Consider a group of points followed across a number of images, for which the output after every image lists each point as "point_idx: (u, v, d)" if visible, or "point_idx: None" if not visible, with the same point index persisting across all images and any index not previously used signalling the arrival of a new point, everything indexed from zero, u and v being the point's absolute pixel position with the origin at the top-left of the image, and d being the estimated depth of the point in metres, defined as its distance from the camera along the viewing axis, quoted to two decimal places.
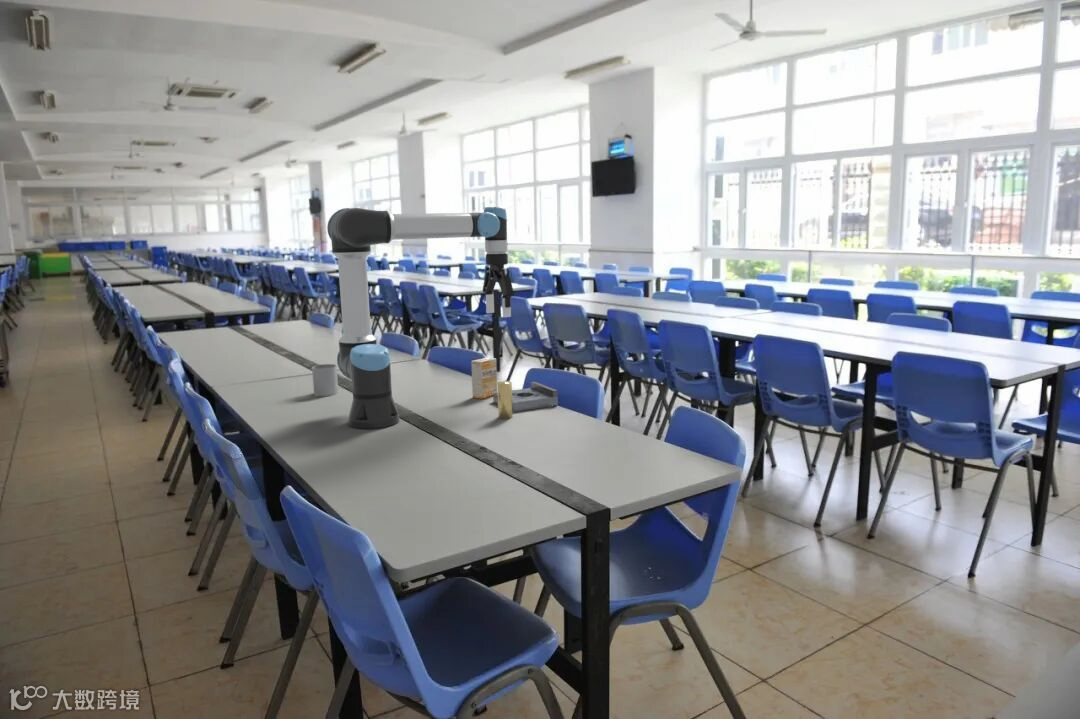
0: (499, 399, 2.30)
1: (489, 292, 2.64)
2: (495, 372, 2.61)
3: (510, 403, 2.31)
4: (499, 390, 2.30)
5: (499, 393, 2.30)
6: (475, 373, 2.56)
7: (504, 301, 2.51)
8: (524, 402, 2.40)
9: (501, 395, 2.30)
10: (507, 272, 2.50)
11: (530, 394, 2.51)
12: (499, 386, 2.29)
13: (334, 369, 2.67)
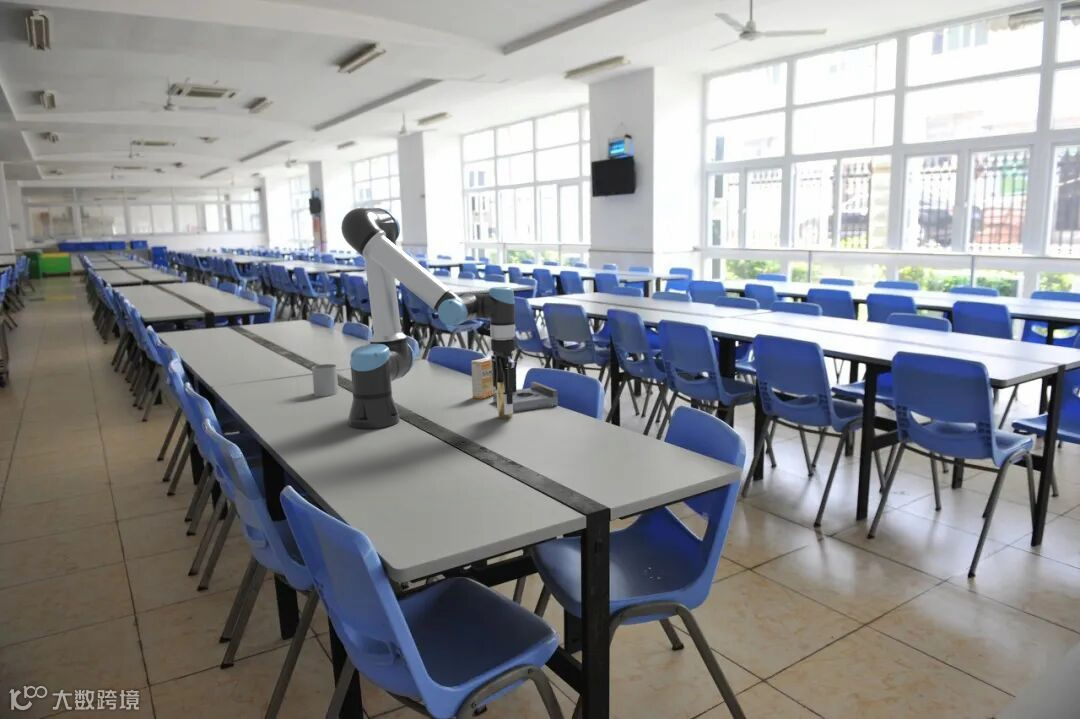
0: (499, 399, 2.30)
1: None
2: None
3: None
4: (498, 390, 2.30)
5: (499, 393, 2.30)
6: (475, 373, 2.56)
7: (506, 397, 2.29)
8: (524, 402, 2.40)
9: (500, 395, 2.30)
10: (514, 366, 2.25)
11: (530, 394, 2.51)
12: (499, 386, 2.29)
13: (334, 369, 2.67)
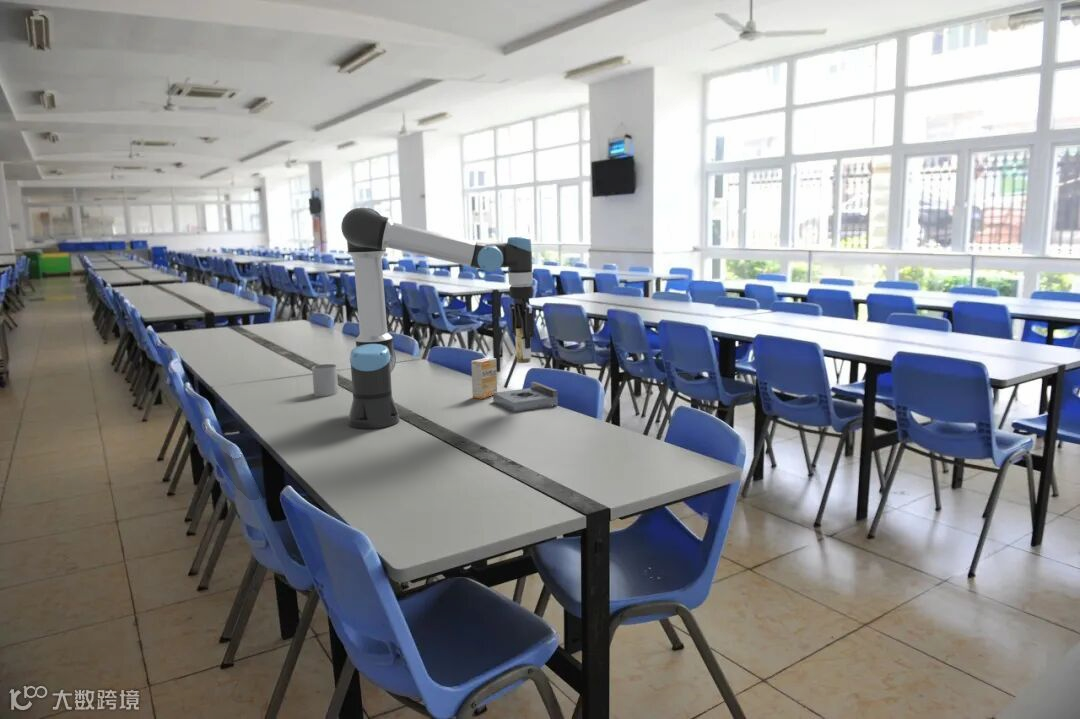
0: (518, 344, 2.42)
1: None
2: (495, 372, 2.61)
3: None
4: (517, 335, 2.42)
5: (517, 338, 2.42)
6: (475, 373, 2.56)
7: (524, 342, 2.40)
8: (524, 402, 2.40)
9: (519, 340, 2.41)
10: (531, 311, 2.36)
11: (530, 394, 2.51)
12: (517, 331, 2.41)
13: (334, 369, 2.67)
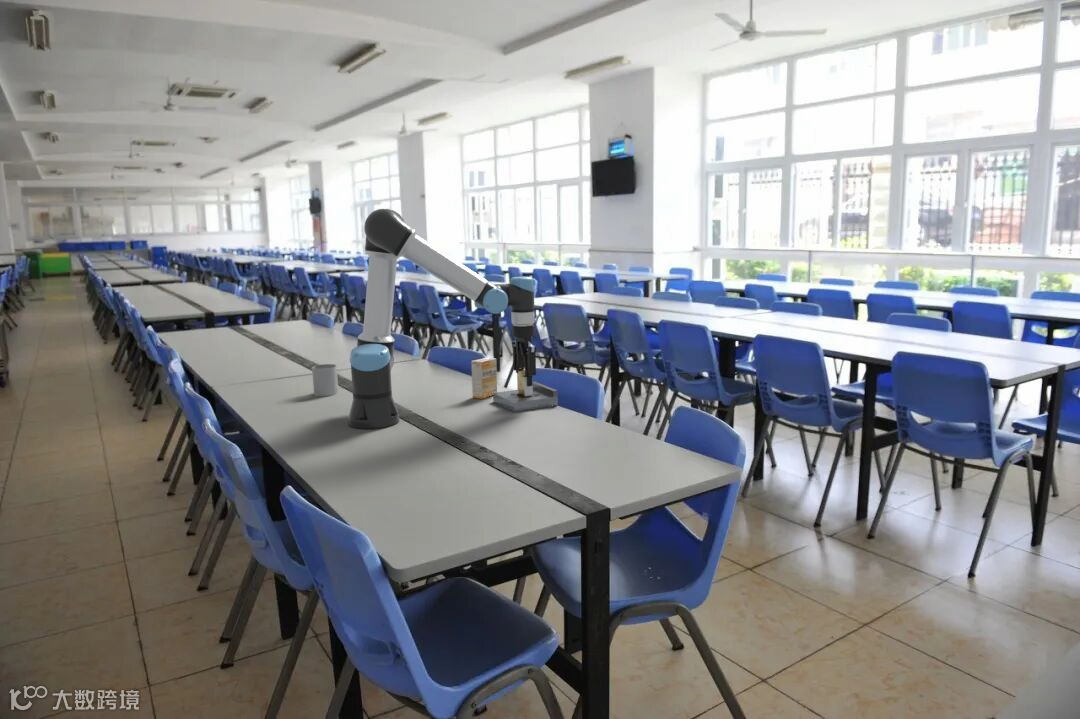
0: (520, 386, 2.47)
1: None
2: (495, 372, 2.61)
3: None
4: (519, 378, 2.46)
5: (520, 381, 2.46)
6: (475, 373, 2.56)
7: (526, 380, 2.45)
8: (524, 402, 2.40)
9: (521, 383, 2.46)
10: (533, 351, 2.41)
11: None
12: (520, 374, 2.46)
13: (334, 369, 2.67)
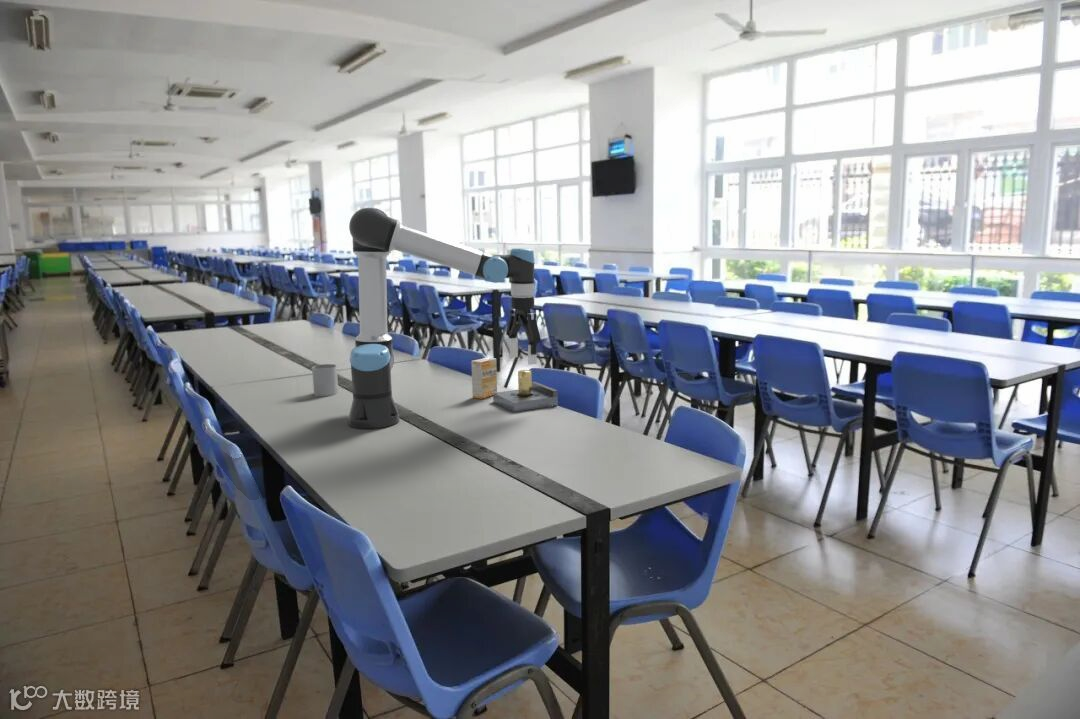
0: (520, 386, 2.47)
1: (513, 336, 2.51)
2: (495, 372, 2.61)
3: (530, 390, 2.47)
4: (519, 378, 2.46)
5: (520, 381, 2.46)
6: (475, 373, 2.56)
7: (530, 348, 2.39)
8: (524, 402, 2.40)
9: (521, 383, 2.46)
10: (533, 317, 2.38)
11: None
12: (520, 374, 2.46)
13: (334, 369, 2.67)
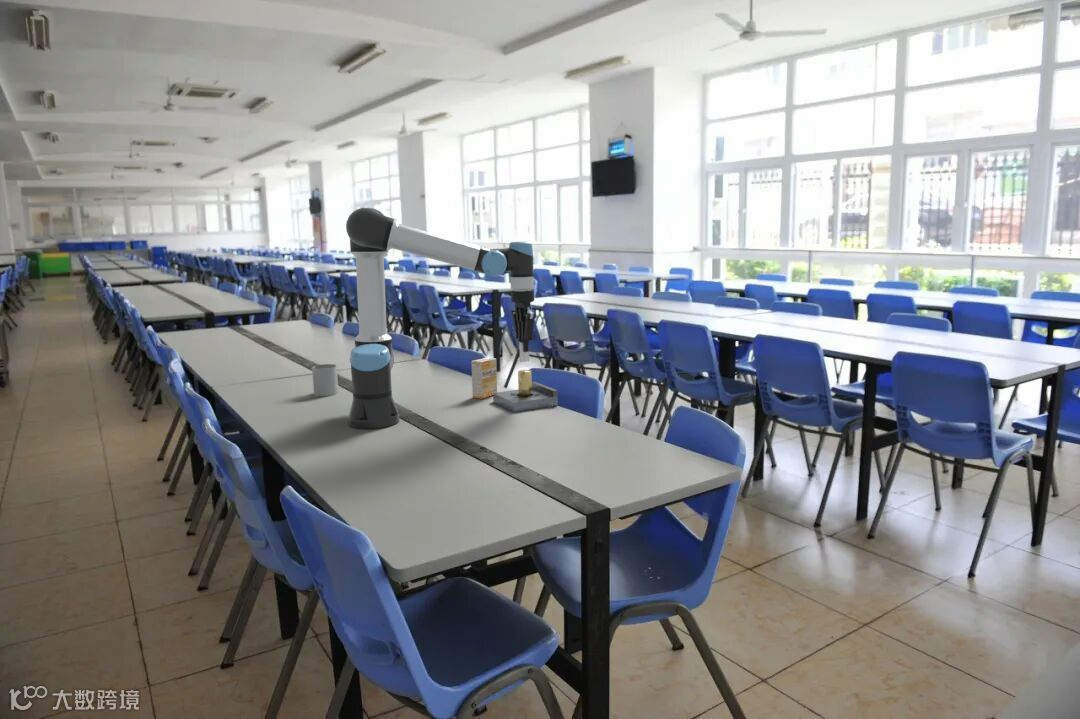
0: (520, 386, 2.47)
1: None
2: (495, 372, 2.61)
3: (530, 390, 2.47)
4: (519, 378, 2.46)
5: (520, 381, 2.46)
6: (475, 373, 2.56)
7: (522, 345, 2.44)
8: (524, 402, 2.40)
9: (521, 383, 2.46)
10: (532, 317, 2.39)
11: None
12: (520, 374, 2.46)
13: (334, 369, 2.67)
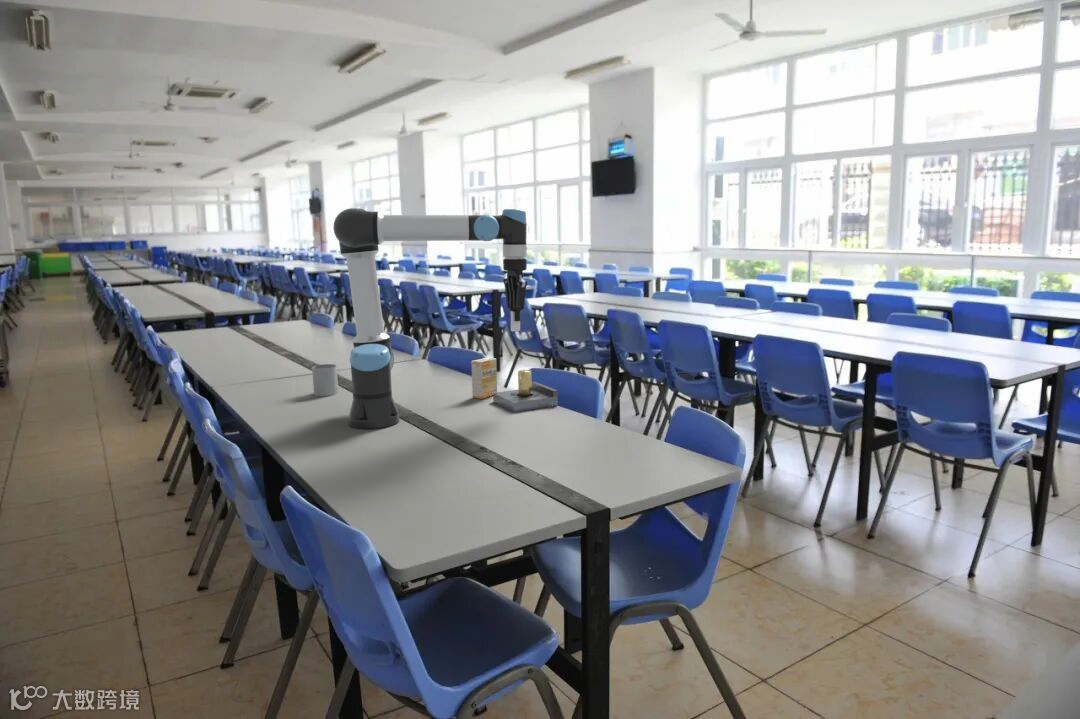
0: (520, 386, 2.47)
1: None
2: (495, 372, 2.61)
3: (530, 390, 2.47)
4: (519, 378, 2.46)
5: (520, 381, 2.46)
6: (475, 373, 2.56)
7: (513, 314, 2.42)
8: (524, 402, 2.40)
9: (521, 383, 2.46)
10: (524, 286, 2.37)
11: None
12: (520, 374, 2.46)
13: (334, 369, 2.67)
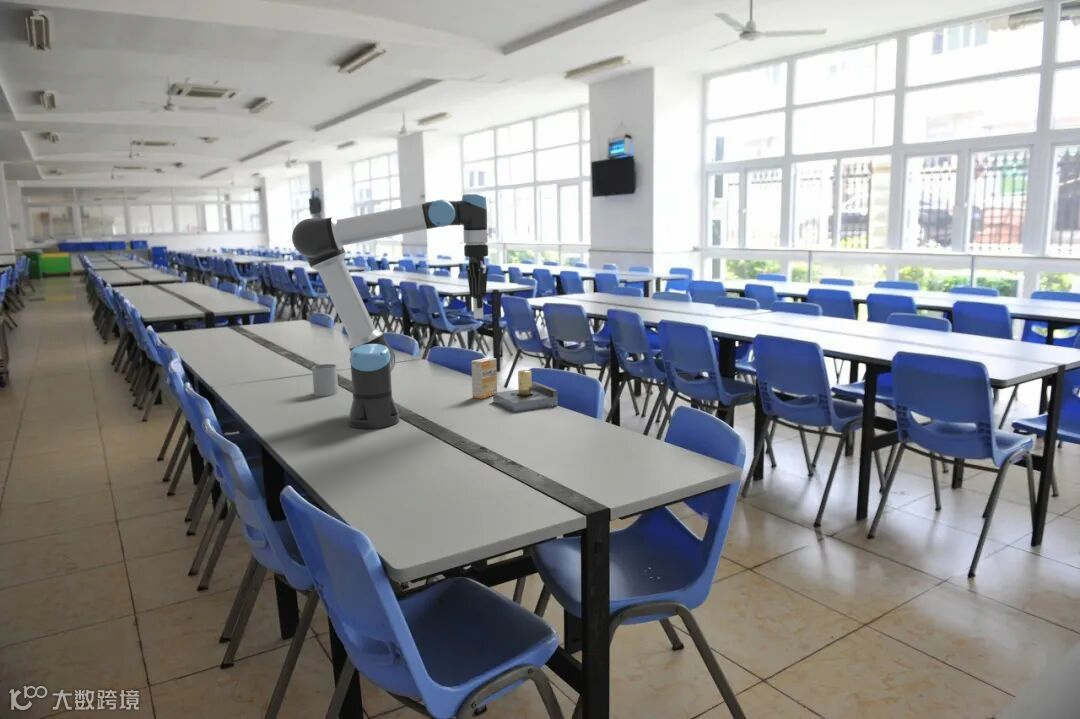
0: (520, 386, 2.47)
1: None
2: (495, 372, 2.61)
3: (530, 390, 2.47)
4: (519, 378, 2.46)
5: (520, 381, 2.46)
6: (475, 373, 2.56)
7: (476, 301, 2.39)
8: (524, 402, 2.40)
9: (521, 383, 2.46)
10: (485, 272, 2.33)
11: None
12: (520, 374, 2.46)
13: (334, 369, 2.67)
